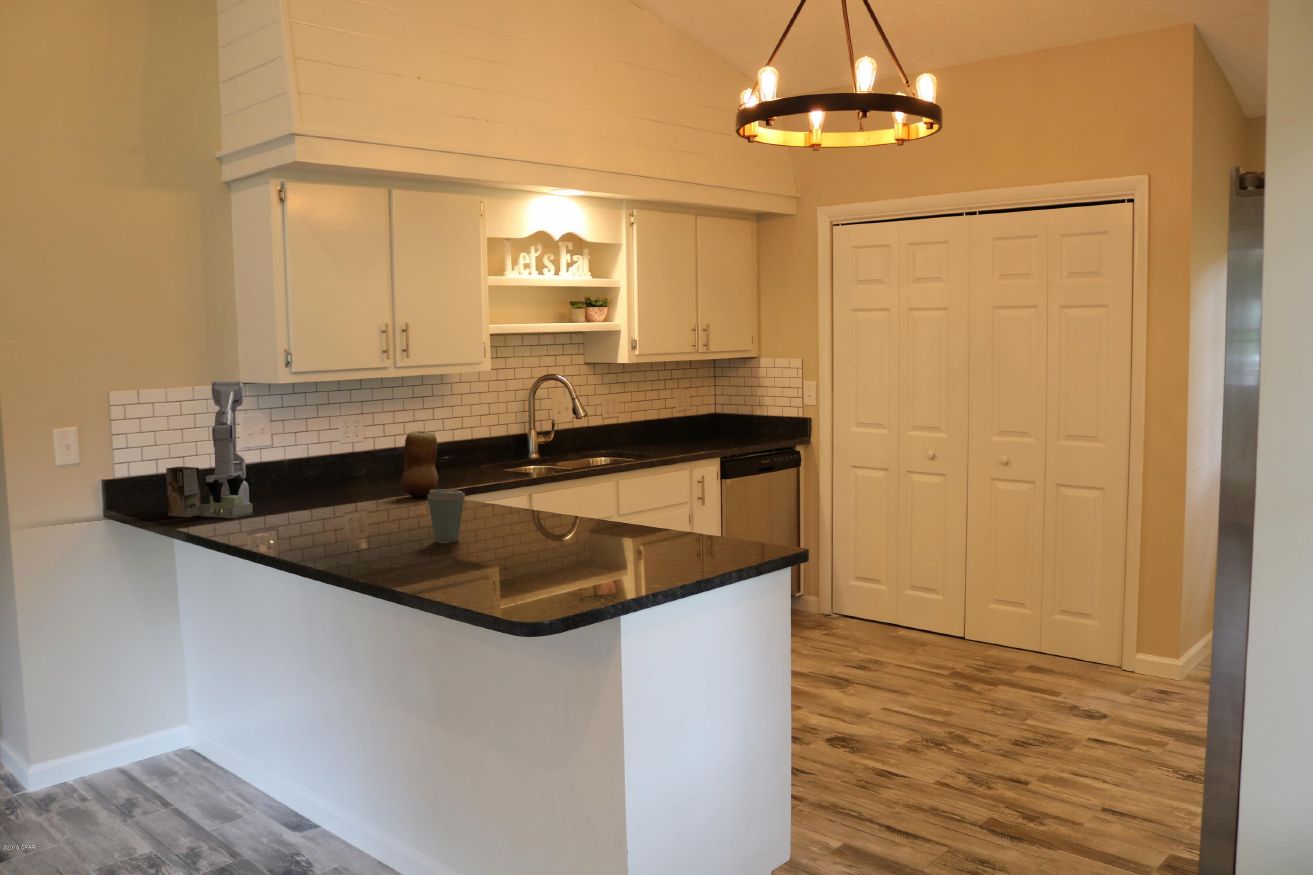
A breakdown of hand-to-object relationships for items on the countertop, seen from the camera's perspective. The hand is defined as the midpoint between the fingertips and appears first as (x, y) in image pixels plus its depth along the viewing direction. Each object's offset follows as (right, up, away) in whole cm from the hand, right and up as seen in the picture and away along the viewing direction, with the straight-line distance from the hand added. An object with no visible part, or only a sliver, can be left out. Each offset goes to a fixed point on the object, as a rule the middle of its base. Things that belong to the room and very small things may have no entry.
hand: (225, 501), depth 336 cm
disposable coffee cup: (+84, -9, -48) cm, 97 cm away
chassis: (0, -5, 0) cm, 5 cm away
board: (0, -2, 0) cm, 2 cm away
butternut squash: (+55, -2, +43) cm, 70 cm away
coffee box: (-14, -5, 0) cm, 15 cm away
